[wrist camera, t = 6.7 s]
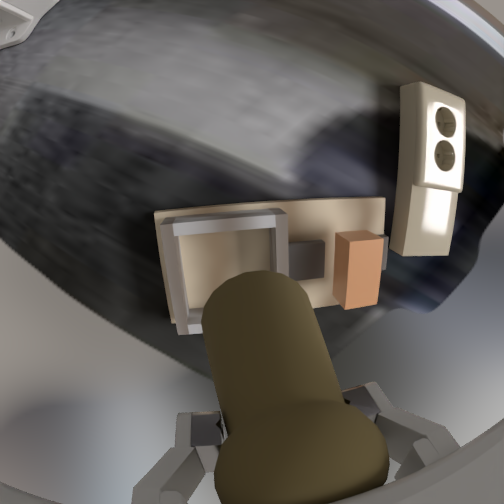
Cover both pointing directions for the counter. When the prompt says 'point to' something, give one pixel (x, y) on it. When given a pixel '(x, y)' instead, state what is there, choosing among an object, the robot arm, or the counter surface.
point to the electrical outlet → (428, 170)
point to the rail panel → (256, 247)
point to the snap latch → (357, 268)
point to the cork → (283, 400)
